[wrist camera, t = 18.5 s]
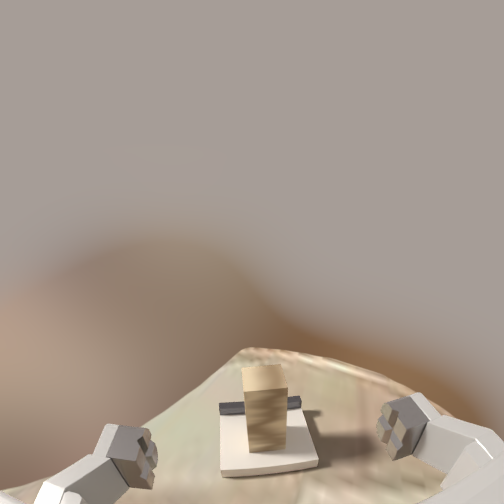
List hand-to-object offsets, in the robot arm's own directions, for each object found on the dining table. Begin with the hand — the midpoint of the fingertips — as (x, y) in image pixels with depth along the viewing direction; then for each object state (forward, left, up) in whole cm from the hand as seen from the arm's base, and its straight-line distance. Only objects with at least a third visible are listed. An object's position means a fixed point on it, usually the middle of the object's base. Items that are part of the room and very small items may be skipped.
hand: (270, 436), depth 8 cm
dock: (+2, +23, -28) cm, 36 cm away
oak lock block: (+2, +22, -26) cm, 34 cm away
